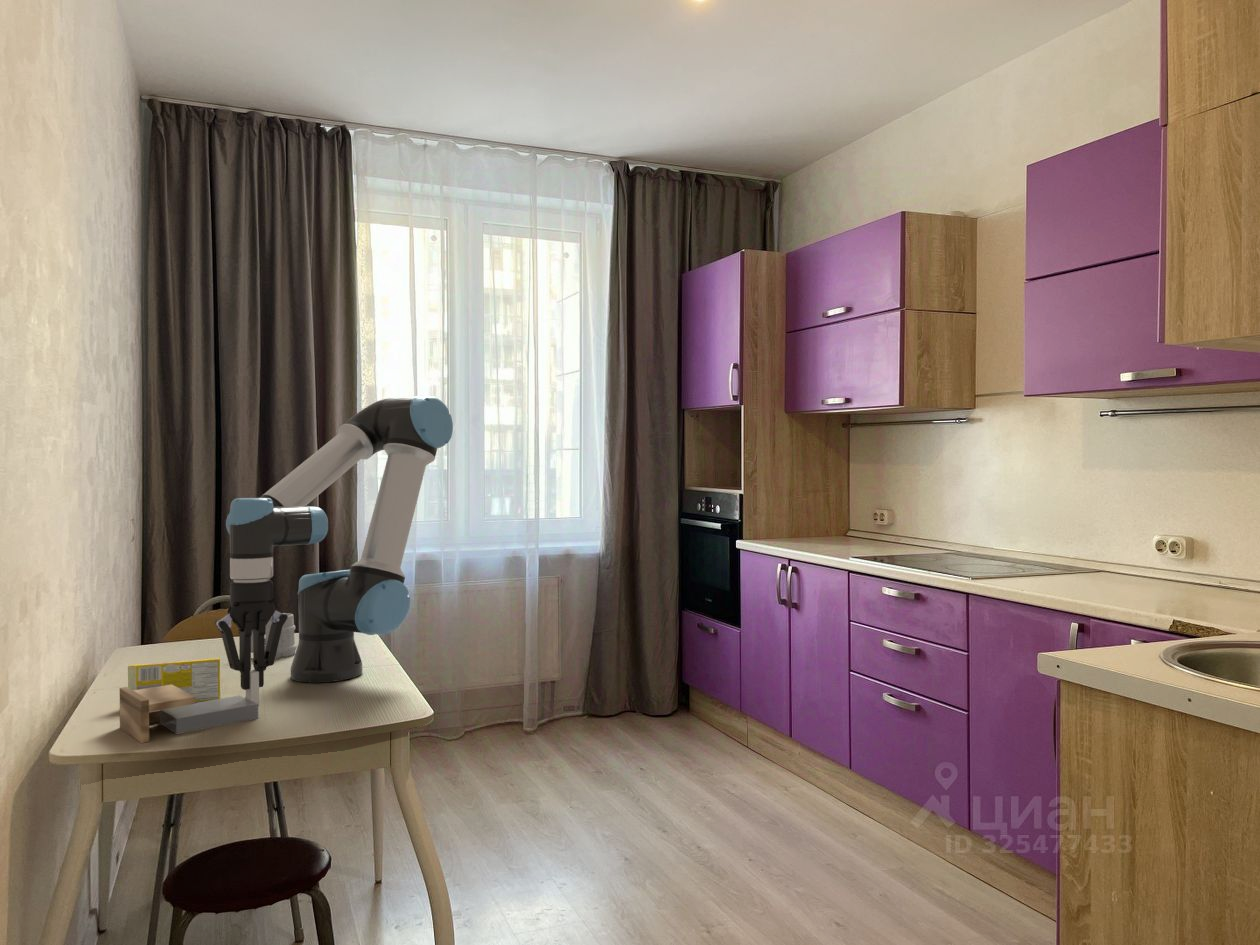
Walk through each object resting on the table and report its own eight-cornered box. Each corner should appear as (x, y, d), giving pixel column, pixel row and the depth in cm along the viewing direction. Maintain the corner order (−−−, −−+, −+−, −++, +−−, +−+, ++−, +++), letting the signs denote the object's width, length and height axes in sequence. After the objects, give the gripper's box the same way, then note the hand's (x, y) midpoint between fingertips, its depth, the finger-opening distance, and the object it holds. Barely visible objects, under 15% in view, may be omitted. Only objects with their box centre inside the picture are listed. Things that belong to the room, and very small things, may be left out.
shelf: (172, 718, 166) (171, 680, 166) (195, 732, 156) (195, 692, 156) (119, 727, 160) (119, 688, 160) (141, 743, 151) (141, 701, 151)
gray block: (239, 711, 172) (239, 695, 172) (258, 720, 166) (258, 703, 166) (160, 725, 162) (160, 709, 162) (176, 736, 156) (176, 718, 156)
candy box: (220, 698, 181) (220, 657, 181) (220, 701, 179) (219, 659, 179) (129, 706, 175) (129, 663, 175) (127, 709, 173) (127, 666, 173)
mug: (299, 655, 223) (298, 607, 223) (247, 661, 217) (247, 611, 217) (293, 650, 229) (293, 603, 229) (243, 655, 223) (243, 607, 223)
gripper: (278, 575, 177) (278, 696, 177) (208, 581, 168) (209, 708, 168) (294, 578, 171) (294, 703, 171) (223, 584, 162) (223, 715, 162)
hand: (252, 705), depth 169 cm, fingers closed
